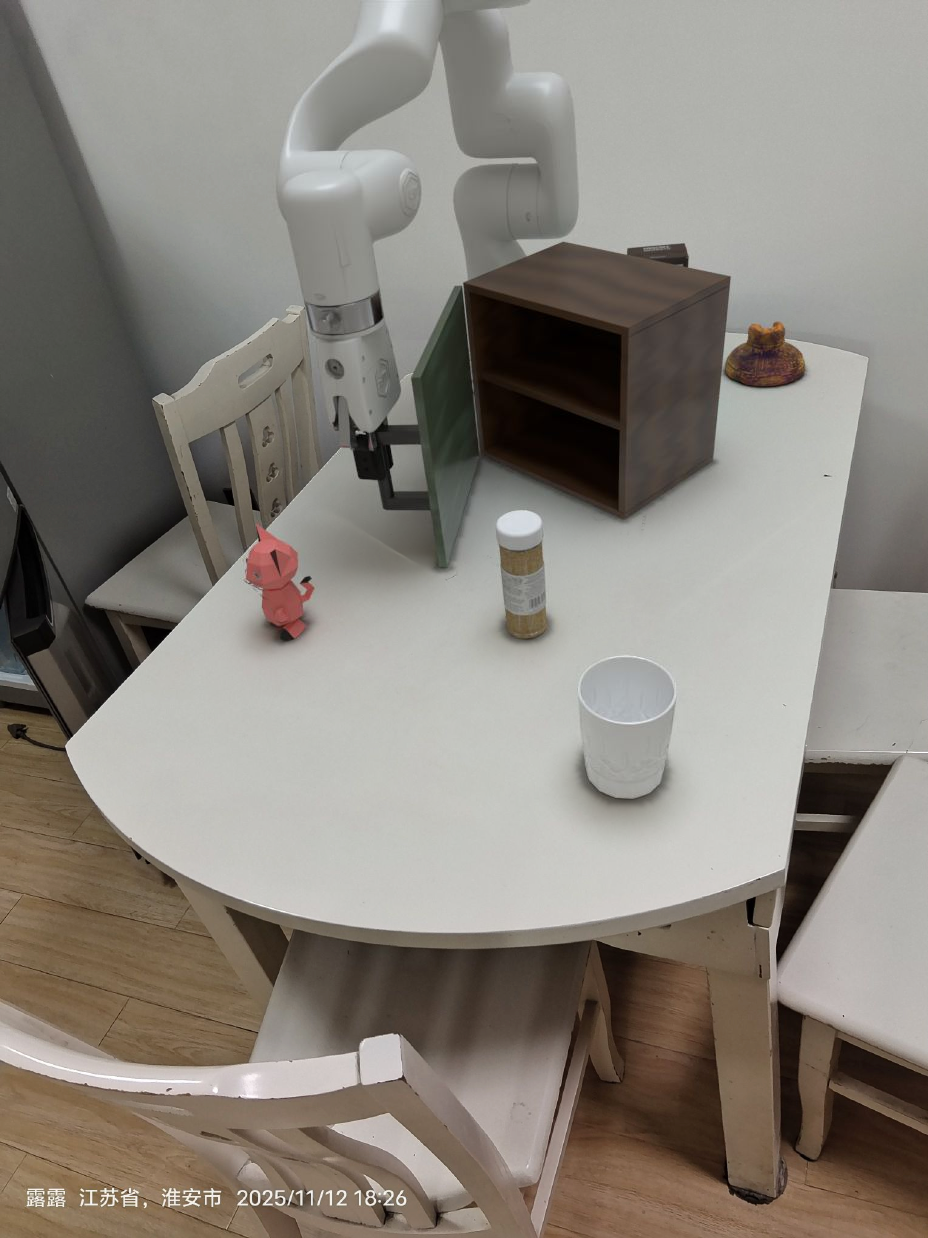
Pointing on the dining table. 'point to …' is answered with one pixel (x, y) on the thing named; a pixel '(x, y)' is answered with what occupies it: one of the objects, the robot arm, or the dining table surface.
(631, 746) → the white cup
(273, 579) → the cat figurine
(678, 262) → the coffee box
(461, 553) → the dining table surface
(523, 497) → the dining table surface
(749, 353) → the bell
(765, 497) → the dining table surface
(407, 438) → the door
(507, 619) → the sprinkles bottle
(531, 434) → the cupboard
